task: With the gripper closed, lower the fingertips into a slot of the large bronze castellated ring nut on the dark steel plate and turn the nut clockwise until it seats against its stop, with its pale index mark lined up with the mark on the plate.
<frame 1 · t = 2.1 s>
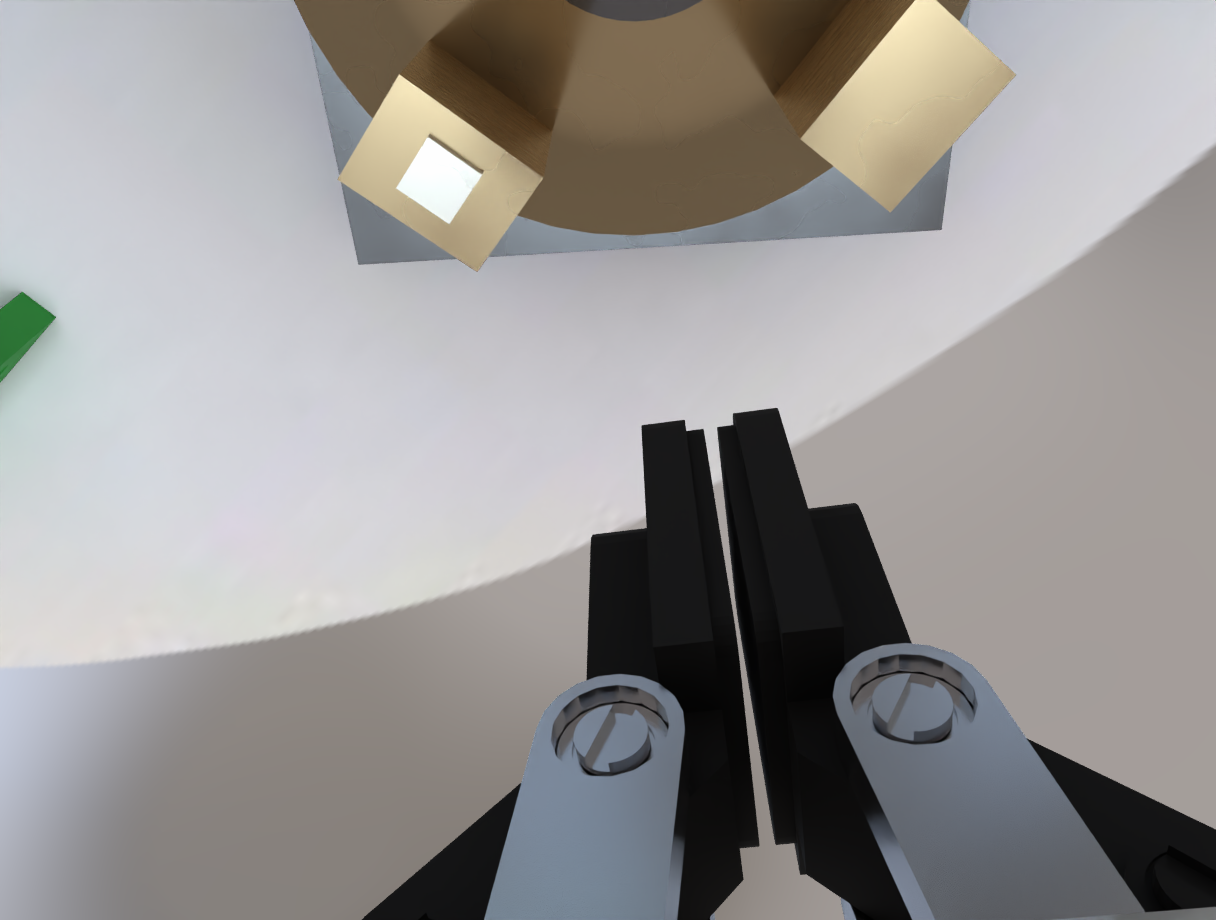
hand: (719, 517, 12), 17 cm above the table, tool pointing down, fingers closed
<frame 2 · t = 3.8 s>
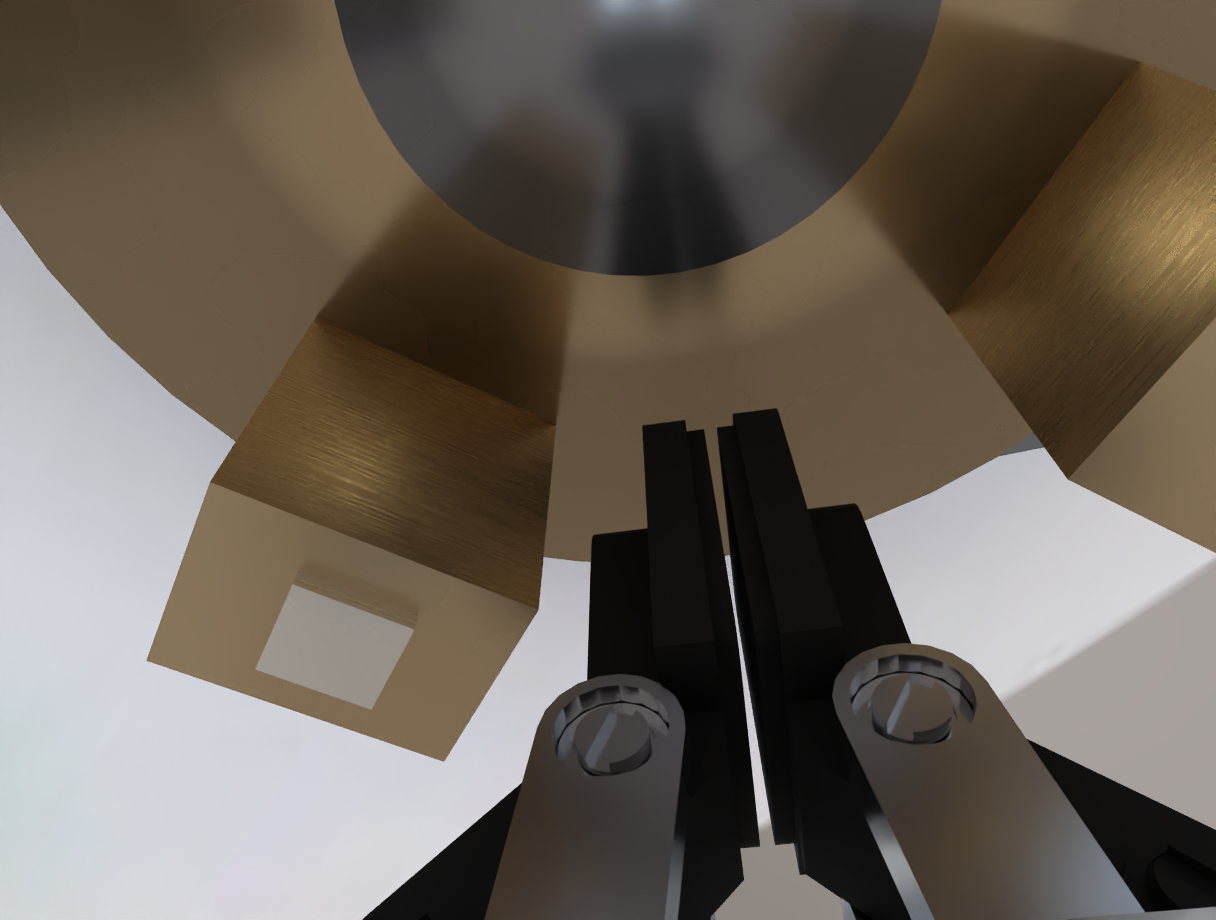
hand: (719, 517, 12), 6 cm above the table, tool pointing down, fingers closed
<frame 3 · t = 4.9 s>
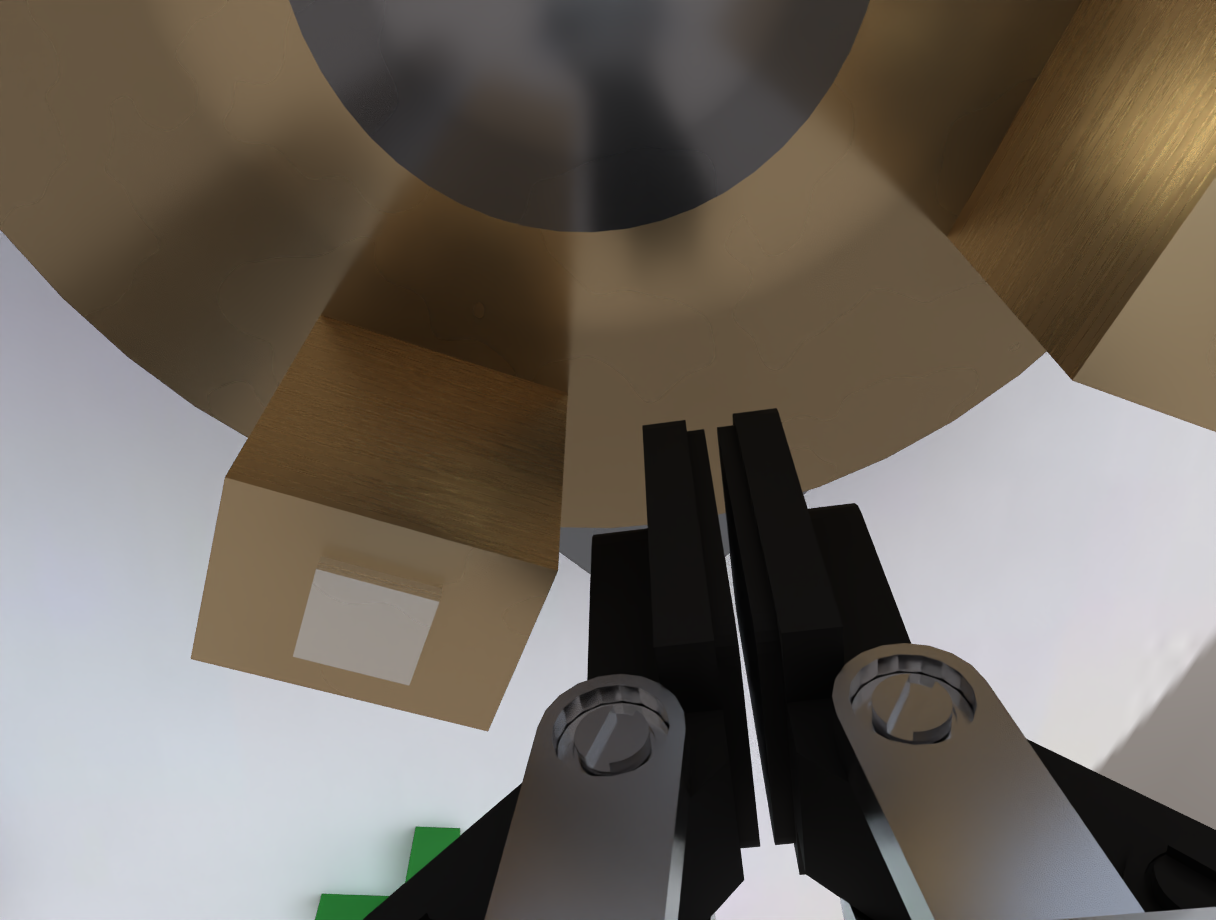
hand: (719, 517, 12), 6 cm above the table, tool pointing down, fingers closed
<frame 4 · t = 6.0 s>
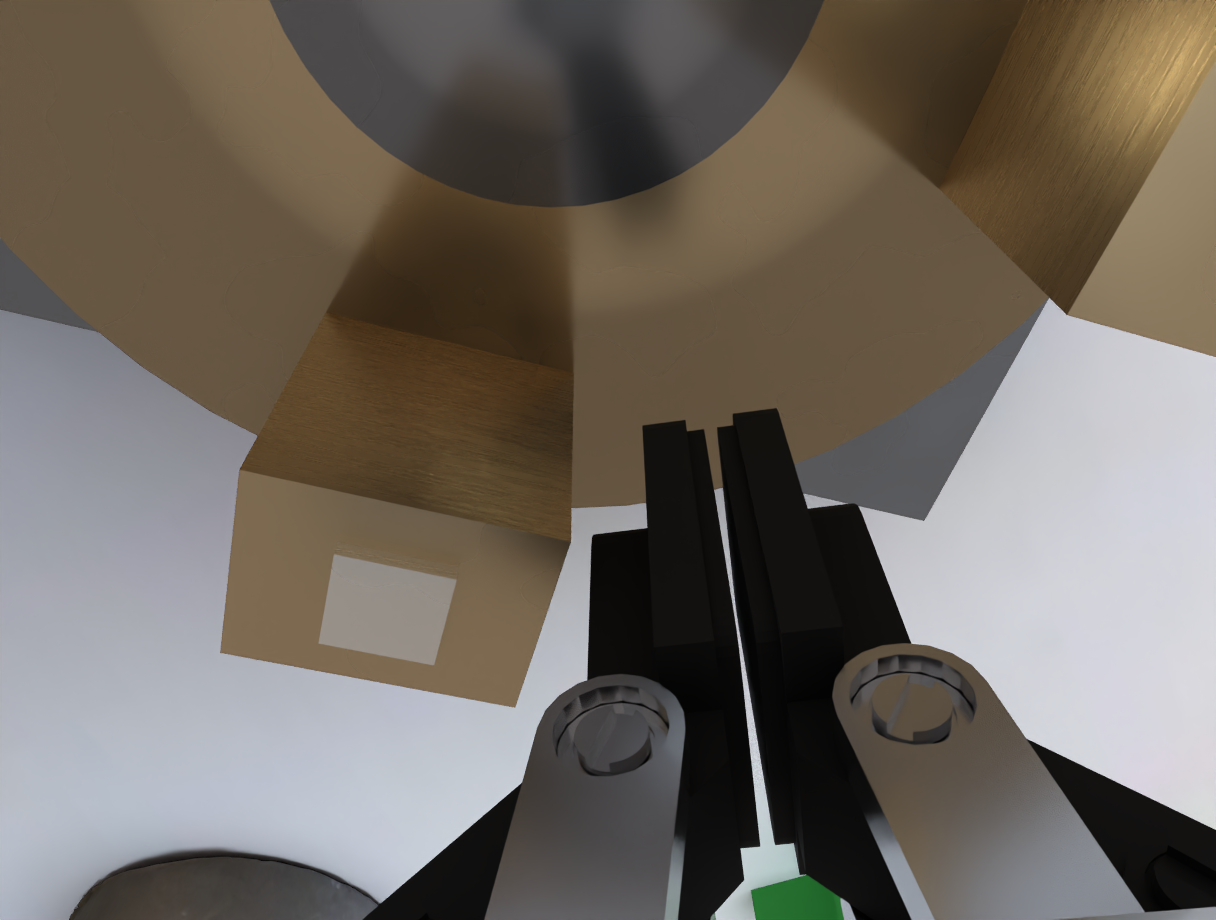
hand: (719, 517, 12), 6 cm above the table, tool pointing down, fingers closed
pipe clamp: (843, 909, 28), on the table
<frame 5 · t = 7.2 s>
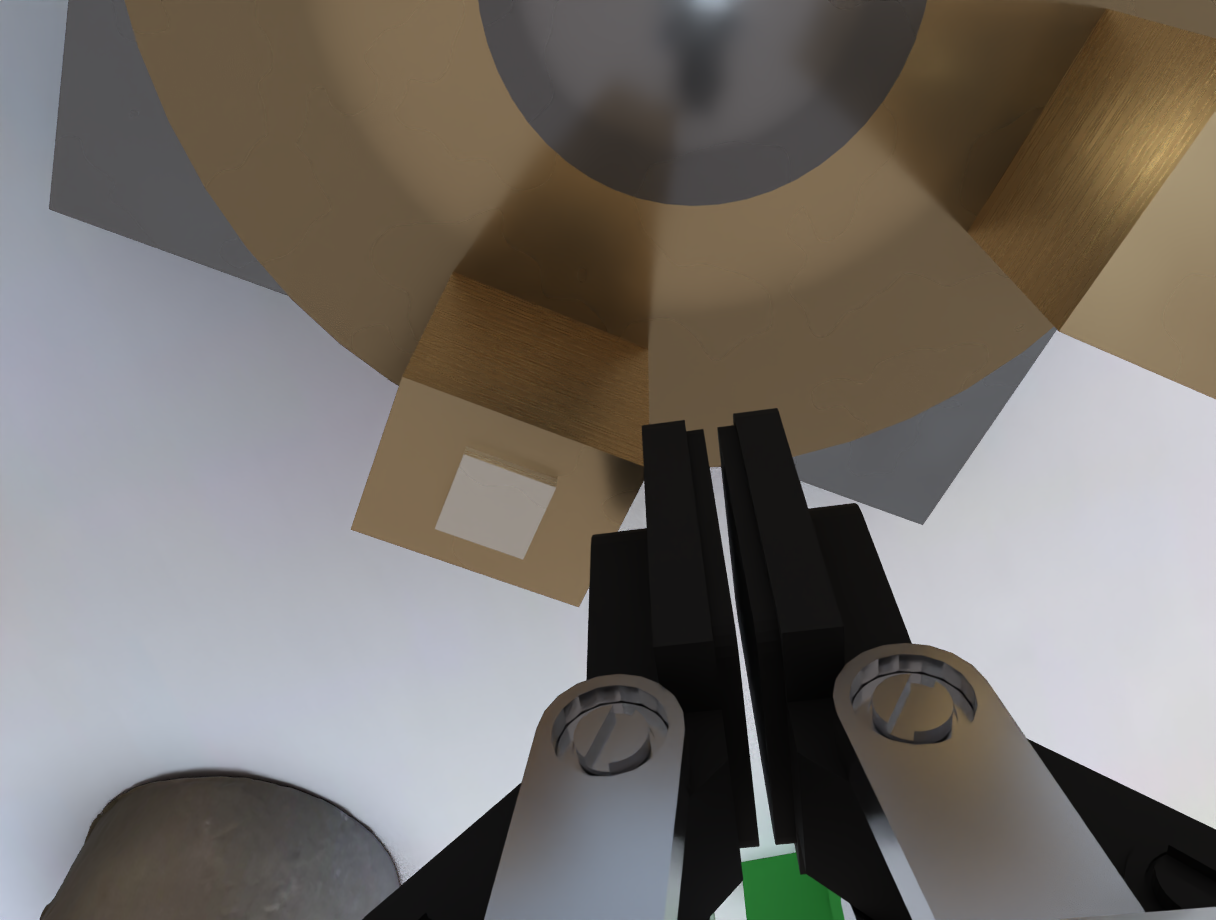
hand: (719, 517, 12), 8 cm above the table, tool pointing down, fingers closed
pillar candle: (255, 874, 30), on the table
pipe clamp: (822, 892, 30), on the table
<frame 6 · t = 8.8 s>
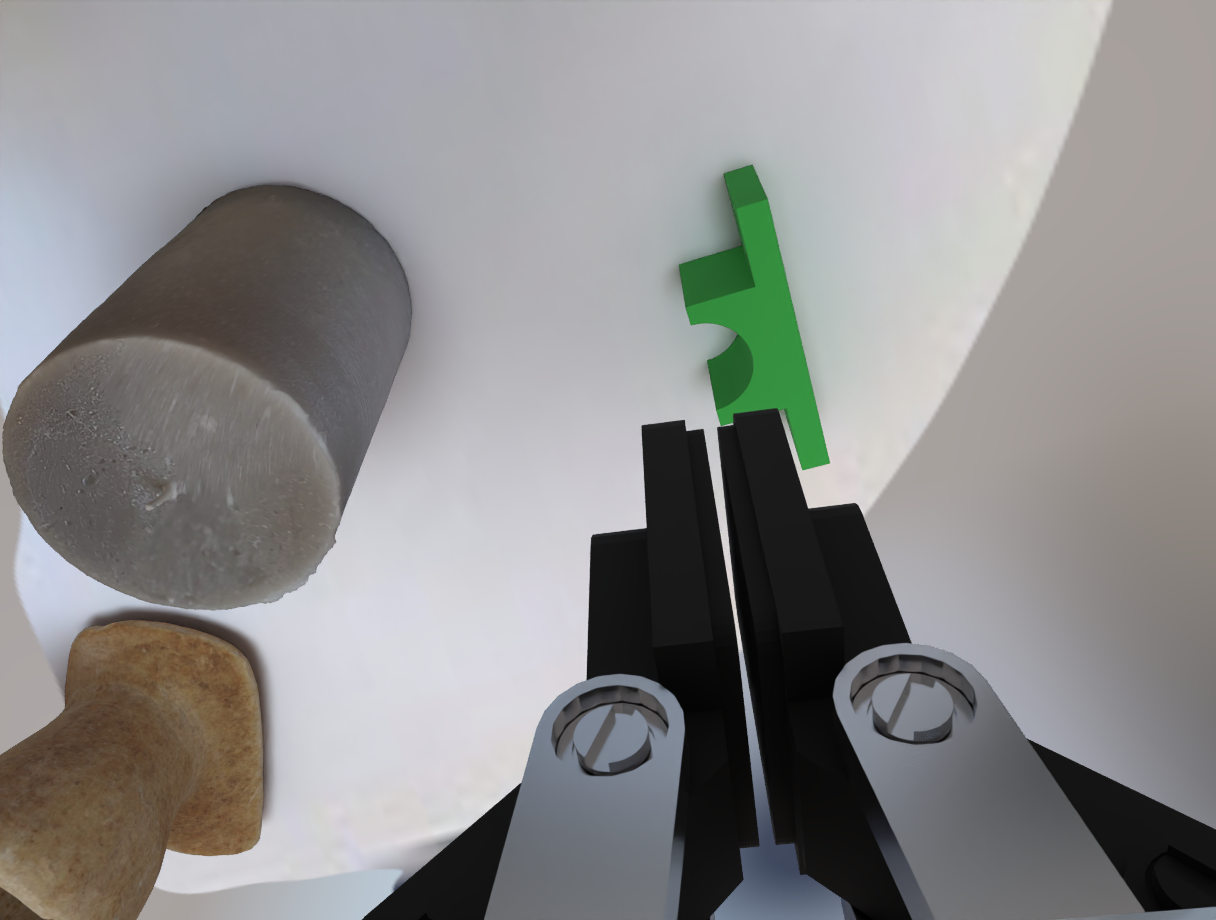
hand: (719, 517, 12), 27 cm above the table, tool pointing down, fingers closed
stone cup: (162, 708, 52), on the table
pillar candle: (301, 300, 40), on the table
pipe clamp: (740, 303, 40), on the table
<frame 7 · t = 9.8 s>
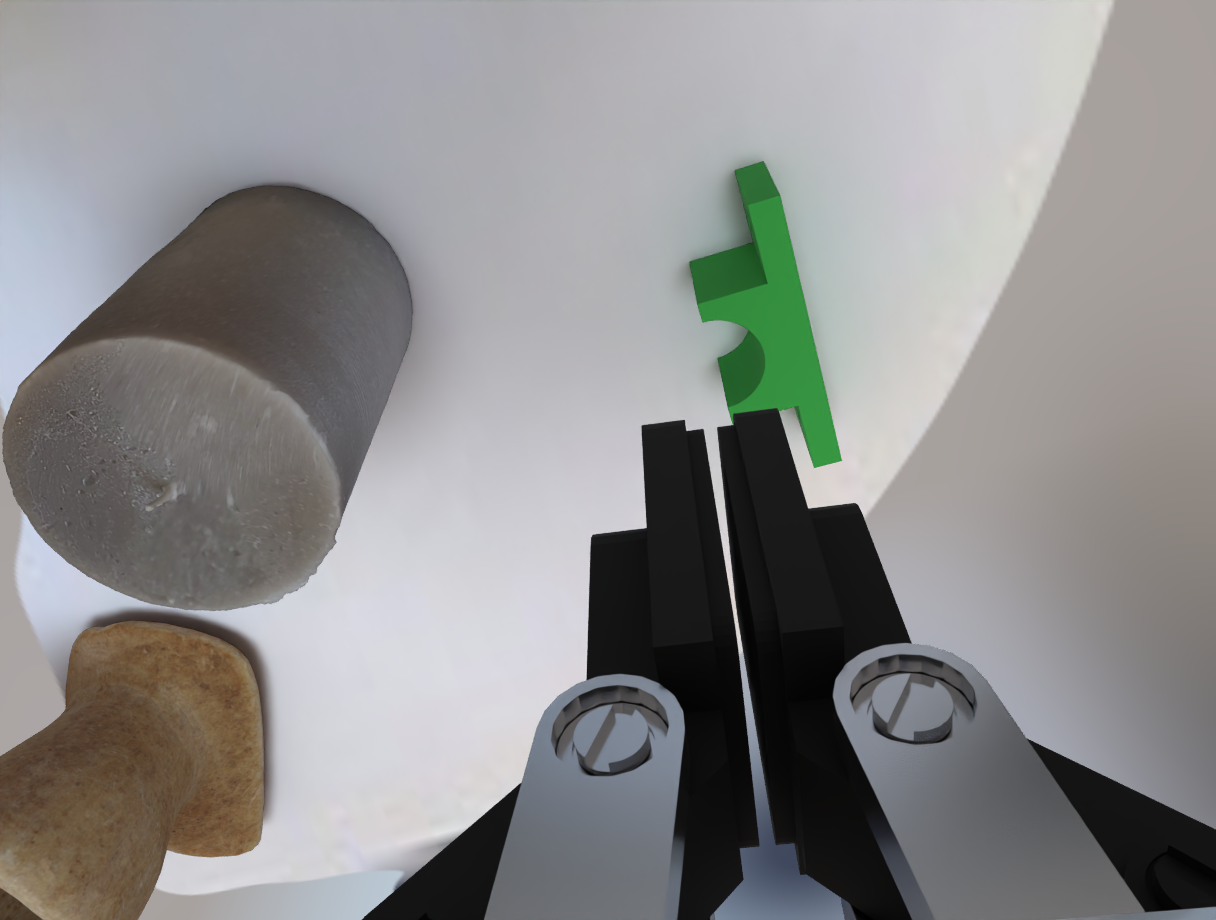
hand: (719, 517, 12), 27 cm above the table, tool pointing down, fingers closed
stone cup: (163, 709, 52), on the table
pillar candle: (301, 301, 40), on the table
pipe clamp: (751, 300, 40), on the table
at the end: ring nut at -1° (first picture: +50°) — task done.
